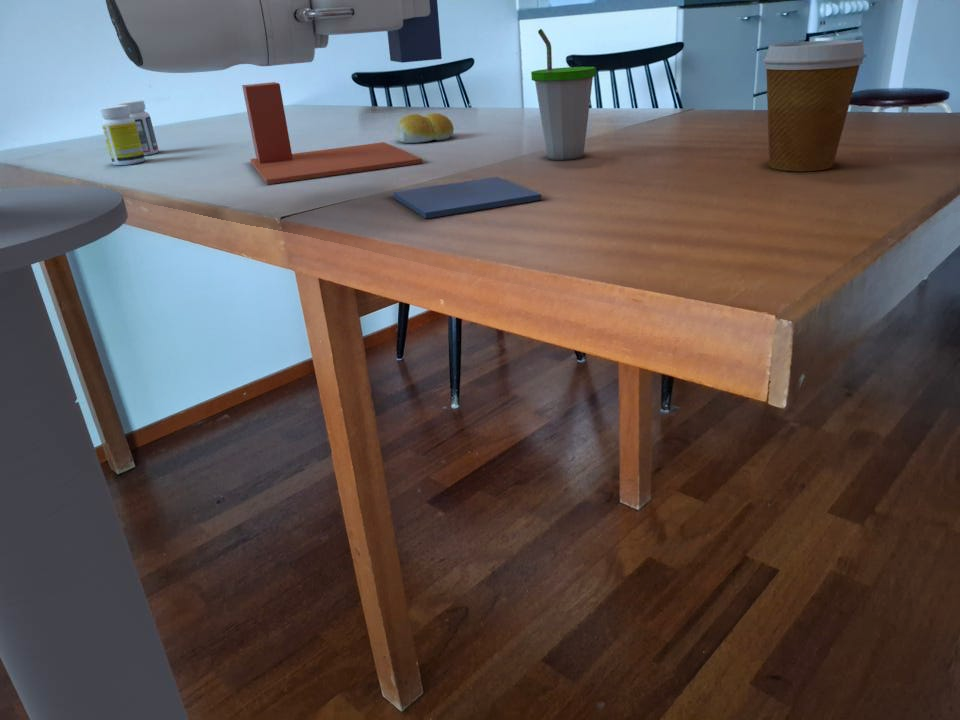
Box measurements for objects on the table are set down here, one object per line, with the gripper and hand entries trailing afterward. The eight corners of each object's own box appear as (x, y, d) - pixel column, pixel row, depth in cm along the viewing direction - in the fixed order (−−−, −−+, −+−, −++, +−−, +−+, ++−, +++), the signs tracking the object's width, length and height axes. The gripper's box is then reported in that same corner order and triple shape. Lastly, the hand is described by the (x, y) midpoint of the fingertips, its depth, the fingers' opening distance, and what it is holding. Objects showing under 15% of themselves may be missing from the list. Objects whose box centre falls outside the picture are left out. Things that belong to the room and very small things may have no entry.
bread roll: (461, 138, 113) (460, 111, 111) (407, 145, 109) (404, 118, 108) (442, 133, 120) (440, 107, 118) (390, 139, 116) (387, 113, 115)
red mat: (267, 184, 88) (266, 179, 88) (251, 163, 105) (250, 159, 104) (422, 163, 95) (421, 158, 94) (384, 146, 111) (384, 142, 111)
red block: (260, 163, 100) (245, 86, 95) (256, 159, 103) (242, 85, 99) (292, 159, 101) (279, 83, 97) (288, 155, 105) (275, 82, 101)
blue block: (401, 62, 76) (390, -46, 72) (390, 61, 80) (379, -43, 75) (442, 59, 78) (433, -48, 73) (428, 57, 81) (420, -44, 77)
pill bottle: (147, 151, 125) (134, 99, 121) (165, 151, 122) (152, 99, 119) (123, 156, 121) (108, 103, 117) (140, 156, 119) (126, 103, 115)
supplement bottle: (152, 160, 114) (137, 104, 111) (128, 165, 110) (112, 108, 107) (130, 159, 116) (115, 104, 113) (106, 165, 112) (90, 108, 109)
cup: (581, 149, 96) (580, 25, 89) (606, 157, 89) (607, 23, 83) (526, 156, 94) (520, 29, 88) (546, 165, 87) (542, 29, 81)
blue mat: (425, 219, 67) (425, 212, 67) (393, 197, 76) (392, 192, 76) (541, 200, 71) (541, 193, 71) (497, 182, 80) (497, 176, 80)
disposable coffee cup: (734, 167, 79) (743, 47, 74) (792, 154, 83) (805, 40, 78) (810, 178, 71) (826, 46, 66) (870, 164, 75) (890, 38, 70)
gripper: (299, -26, 62) (449, -34, 67) (268, -15, 79) (389, -22, 84) (311, 53, 65) (455, 41, 69) (279, 47, 82) (396, 38, 87)
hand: (419, 7), depth 77 cm, fingers closed on blue block, 4 cm apart
